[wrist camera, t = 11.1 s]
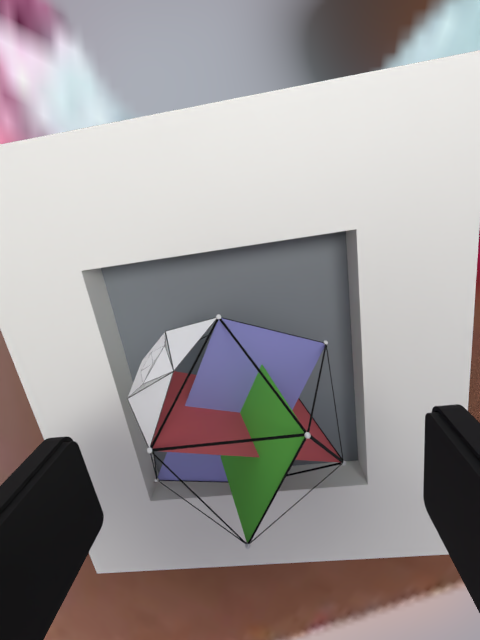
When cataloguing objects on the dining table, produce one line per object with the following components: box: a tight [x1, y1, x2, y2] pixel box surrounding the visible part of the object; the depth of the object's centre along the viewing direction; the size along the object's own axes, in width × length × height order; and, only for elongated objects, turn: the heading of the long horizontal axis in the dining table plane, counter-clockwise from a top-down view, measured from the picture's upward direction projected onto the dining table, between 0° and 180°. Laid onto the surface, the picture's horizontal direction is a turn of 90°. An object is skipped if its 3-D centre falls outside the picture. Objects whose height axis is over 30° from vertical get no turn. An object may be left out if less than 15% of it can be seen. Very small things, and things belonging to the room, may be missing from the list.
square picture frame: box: [0, 50, 480, 573], centre depth 15 cm, size 18×20×2 cm
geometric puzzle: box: [127, 314, 346, 549], centre depth 12 cm, size 7×7×8 cm
